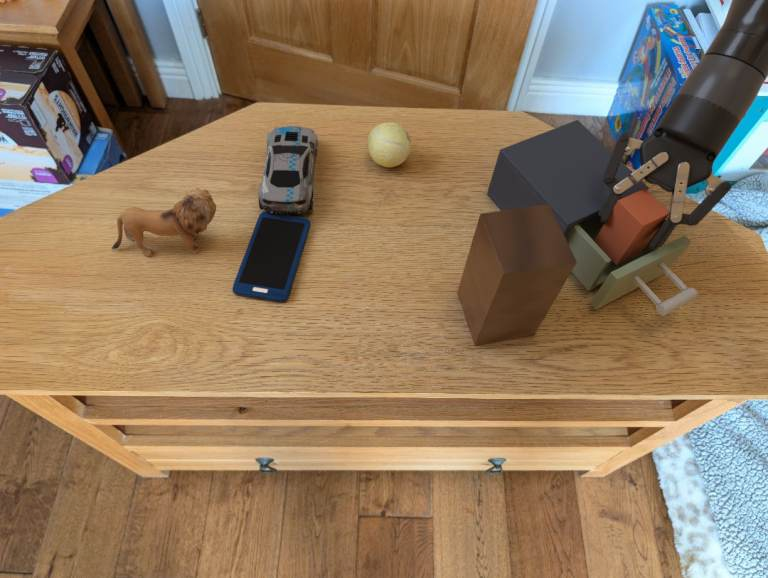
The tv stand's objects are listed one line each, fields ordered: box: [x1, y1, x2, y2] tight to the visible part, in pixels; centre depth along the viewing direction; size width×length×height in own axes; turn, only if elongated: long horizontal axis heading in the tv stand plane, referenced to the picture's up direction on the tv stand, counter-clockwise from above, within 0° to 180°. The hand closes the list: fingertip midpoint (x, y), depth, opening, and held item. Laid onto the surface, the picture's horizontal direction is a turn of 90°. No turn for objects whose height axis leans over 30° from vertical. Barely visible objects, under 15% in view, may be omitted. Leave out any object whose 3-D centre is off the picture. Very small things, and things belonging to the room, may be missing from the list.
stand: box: [456, 204, 577, 346], centre depth 65 cm, size 8×8×16 cm
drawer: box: [566, 214, 699, 317], centre depth 73 cm, size 19×12×7 cm, turn 29°
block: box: [594, 188, 670, 265], centre depth 70 cm, size 4×4×8 cm
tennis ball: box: [365, 121, 412, 168], centre depth 83 cm, size 6×7×7 cm
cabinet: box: [486, 119, 650, 238], centre depth 78 cm, size 15×14×9 cm
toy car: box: [258, 125, 319, 215], centre depth 81 cm, size 8×17×5 cm, turn 1°
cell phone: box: [231, 211, 312, 303], centre depth 75 cm, size 7×14×1 cm, turn 171°
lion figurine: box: [111, 187, 217, 258], centre depth 72 cm, size 15×5×9 cm, turn 103°
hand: (626, 235), depth 69 cm, fingers closed on block, 5 cm apart
